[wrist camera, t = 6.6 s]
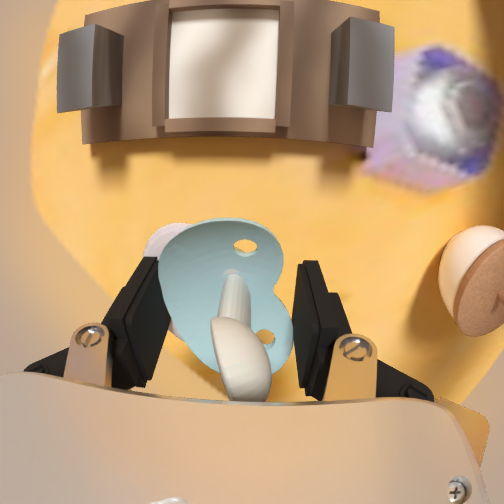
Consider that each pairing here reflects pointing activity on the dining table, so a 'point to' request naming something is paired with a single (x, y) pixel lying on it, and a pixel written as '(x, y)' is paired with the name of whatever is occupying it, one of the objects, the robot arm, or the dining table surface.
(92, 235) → the dining table surface
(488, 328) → the lidded jar
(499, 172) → the dining table surface
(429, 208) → the dining table surface
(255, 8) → the brown tray
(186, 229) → the pacifier
